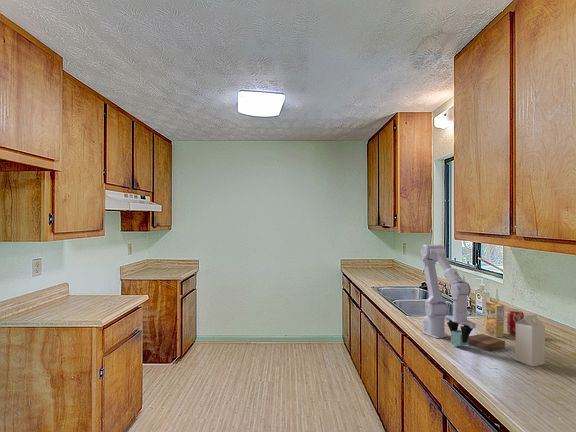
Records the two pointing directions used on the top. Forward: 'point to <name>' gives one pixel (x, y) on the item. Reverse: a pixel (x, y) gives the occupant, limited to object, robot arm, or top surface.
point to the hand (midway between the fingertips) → (459, 340)
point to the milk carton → (530, 341)
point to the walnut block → (486, 342)
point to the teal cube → (457, 338)
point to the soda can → (513, 320)
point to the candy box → (494, 319)
